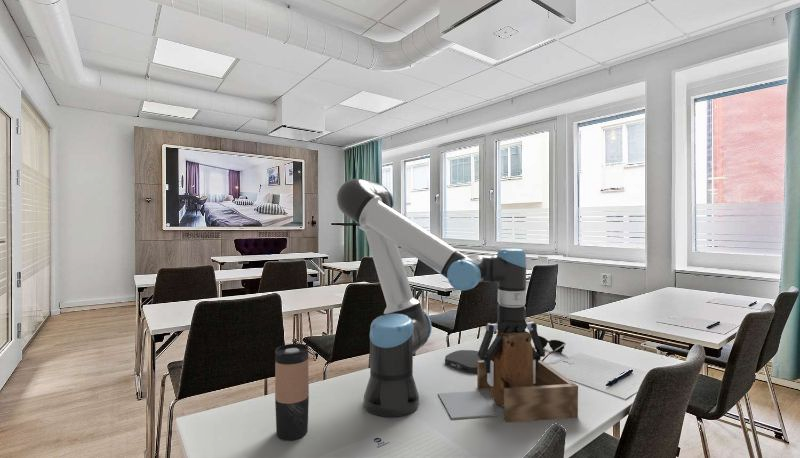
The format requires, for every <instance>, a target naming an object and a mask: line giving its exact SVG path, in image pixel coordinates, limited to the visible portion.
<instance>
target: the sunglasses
mask: <svg viewBox="0 0 800 458" xmlns="http://www.w3.org/2000/svg"><path fill="white" fill-rule="evenodd" d="M538 336H539V338H540V341H541V344H542V347H543V349H546V348H545V347H547V344H548V345H549V347H550V348H551V350H552V351H550V352H549V353H548V354H546V355H545V356H544V358H542V359H541V360H542V361H543V362H545V360H546V358H548V357H549V356H550V355H551V354H553V353H555V352H556V353H560V354H562V353H563V350H564V349H565V346H566V342H564V341H563V340H559V339H550V340H548V339H547V338H545V337H544V336H541V335H538Z"/></svg>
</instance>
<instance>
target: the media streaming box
mask: <svg viewBox="0 0 800 458" xmlns="http://www.w3.org/2000/svg"><path fill="white" fill-rule="evenodd" d="M478 352H479V350H474V349H473V350H471V349H459V350H455V351H452V352H450V353H448V354H446V355H445V357H444V363H445V365H446V366H448V367H451V368H453V369H456V370H459V371H462V372H465V373H469V374H477V361H480V360H481V359H480V358H479V357H478V356H477V355H478Z"/></svg>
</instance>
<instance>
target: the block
mask: <svg viewBox="0 0 800 458" xmlns="http://www.w3.org/2000/svg"><path fill="white" fill-rule="evenodd" d="M497 333H499V336H500V337H502V335H504V336H503V338H502V344H501V346H500V347H499V349H498V351H497V352H496V354H495V355H494V357H493V358H492V361H493V362H494V386H491V388H490V393H491V396H492V399H493V402H494V403H495V404H497V405H498V406H502V407H504V388H514V387H529V386H533V351H532V347H533V344H532V336H531V334H530V332H529V331H526V330H525V331H524V332H520V333H518V332H511V333H505V334H504V333H501V332H499V330H498V329H497Z"/></svg>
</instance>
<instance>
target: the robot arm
mask: <svg viewBox="0 0 800 458" xmlns="http://www.w3.org/2000/svg"><path fill="white" fill-rule="evenodd" d="M336 194H337V195H336V201H337V206H338V208H339V210H340V211H341V213H343V214H344V215H345V216H346V217H348V218H349V219H351V220H352V221H354V222H355V223H357V226H358V229H360V230H362V231H363V232H364V233H365V236H366V239H367V243H368V247H369V250H370V254H371V256H372V257H371V258H372V260H373V263H374V267H375V270H376V274H377V277H378V281H379V284H380V288H381V290H382V293H383V296H384V301H385V304H386V307H385V309H384V310H383V311H384V312H383V315H379V316H377V317H376V318H375V319H373V320H372V322H371V324H370V330H369V359H370V360H369V369H370V371H369V373H370V374H369V375H370V376H369V379H368V383H367V385H366V388H365V392H364V395H363V407H364V409H365V410H366V411H367V412H369V413H370V414H373V415H375V416H378V417H386V418H392V417H393V418H394V417H396V418H397V417H403V416H406V415H410V414H412V413H413V412H415V411H416V410H417V409H418V408H419V406H420V395H419V392H418V388H417V385H416V381H415V378H414V375H413V373H414V372H413V371H414V369H413V368H414V367H413V366H414V364H413V363H414V362H413V361H414V354H415V353H416V352H417V351H418V350H419V349H420V348H422V347H423V346H425V344H426V343H427V342H428V340H429V338H430V336H431V334H432V330H433V329H432V325H433V324H432V320H431V319H430V316H429V315H428V313H427V312H425V311H424V310H423V308H422V304H421V302H420V300H418V299H416V298H415V297H414V295H413V291H412V289H411V285H410V282H409V279H408V275H407V271H406V269H405V266H404V262H403V260H402V256H401V253H400V248H401V249H402V250H404V251H405V252H407V253H409V254H410V255H412V256H413V257H415V259H417V260H419V261H421V263H424V264H425V265H426V266H428V267H430V268H431V269H433V270H434V271H436V272H437V273H438V274H440V275H441V276H443V277H445V279H447V280H448V283H449V284H450V286H451V287H452V288H454V289H455V290H458V291H462V292H463V291H469V290H473V289H474V288H475V287H476V286H478V285H479V283H481V282H482V283H484V282H485V283H497V303H498V305H497V321H496V323H491V322H487V323H486V324H485V326H486V327H485V328H486V329H485V333H484V336H483V339H482V341H481V344H480V347H479V350H478V351H479V352H478V355H477V356H478V357H479V358H480V359H481V360H484V370H485V372H486V373H487V383H488V384H489V385H490V386H494V362H493V361H492V358H493V357H494V355H495V354H496V352H497V351H498V349H499V347H500V346H501V344H502V338H503V336H504V335H502V337H500V336H499V333H498V332H497V333H496V335H495V338H494V340H493V337H494V333H495V332H496V330H497V331H498V330H499V332H501V333H504V334H505V333H511V332H518V333H520V332H524V331H526V329H527V330H528V332H529V333H530V334H531V336H532V339H531V341H532V343H533V346H534V347H535V348H534V347H533V346H532V351H533V384H535V373H536V370H538V360H542V359H541V358H543V357H544V358H545V357H546V352H545V350H544V349H545V348H543V347H542V344H541V341H540V338H539V336H540V335H539V333H538V325H537V323H536V322H534V321H532V320H530V321H528V322H527V321H526V318H527V317H526V315H527V308H526V306H525V305H526V303H527V300H526V299H527V293H526V292H527V290H526V289H527V288H526V287H527V258H526V257H527V255H526V252H525V251H524V250H523V249H520V248H505V247H504V248H499V249H498V251H497V254H495V255H485V254H483V255H482V254H471V253H470V254H469V253H467V254H463V252H461V251H459V250H457V249H456V248H454V247H452V246H451V245H449V244H448V243H447V242H445V241H443V240H441V239H440V238H439V237H437V236H436V235H434V234H433V233H431V232H429V231H427V230H426V229H424V228H423V227H421V226H420V225H418V224H416V223H415V222H414V221H412V220H410V219H409V218H407V217H406V216H404V215H403V214H401V213H400V212H398V211H396V210H395V209H393V208H394V203H395V201H394V196H393V194H392V192H391V190H390V189H389V188H388V187H386V185H383V183H380V182H378V181H370V180H365V179H361V178H351V179H349V180H347V181H345V182H344V183H343V184H342V185H340V187H339V189H338V191H337V193H336ZM492 340H493V341H492ZM491 342H492V343H491Z"/></svg>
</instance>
